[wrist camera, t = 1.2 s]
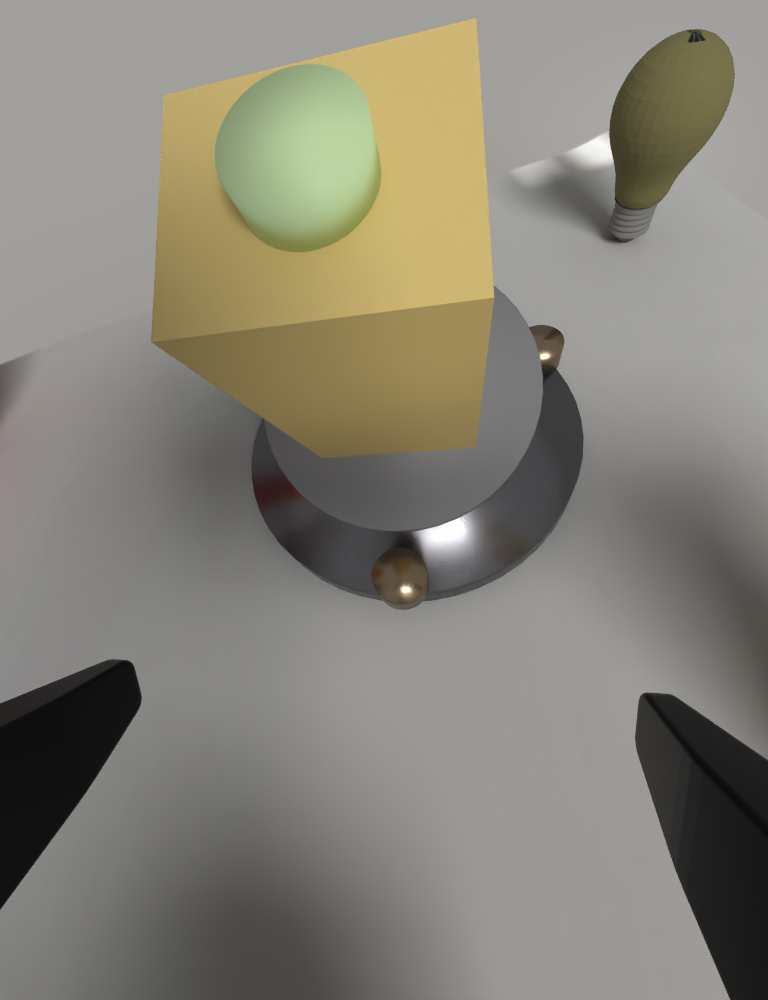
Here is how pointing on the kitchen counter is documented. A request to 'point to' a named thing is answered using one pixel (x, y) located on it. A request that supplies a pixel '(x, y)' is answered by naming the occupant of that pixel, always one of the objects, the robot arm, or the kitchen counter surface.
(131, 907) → the kitchen counter surface
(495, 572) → the base
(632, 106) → the light bulb
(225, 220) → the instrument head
